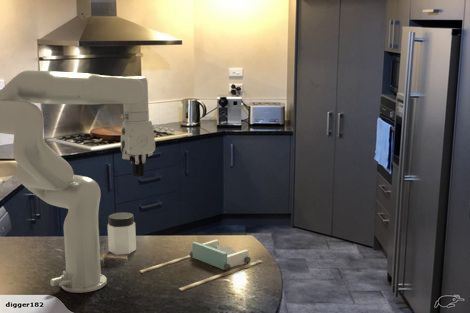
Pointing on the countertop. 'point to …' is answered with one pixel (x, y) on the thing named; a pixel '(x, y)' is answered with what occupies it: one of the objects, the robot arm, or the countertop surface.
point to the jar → (121, 233)
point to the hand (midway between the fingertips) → (138, 175)
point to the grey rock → (225, 249)
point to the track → (204, 279)
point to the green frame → (218, 255)
